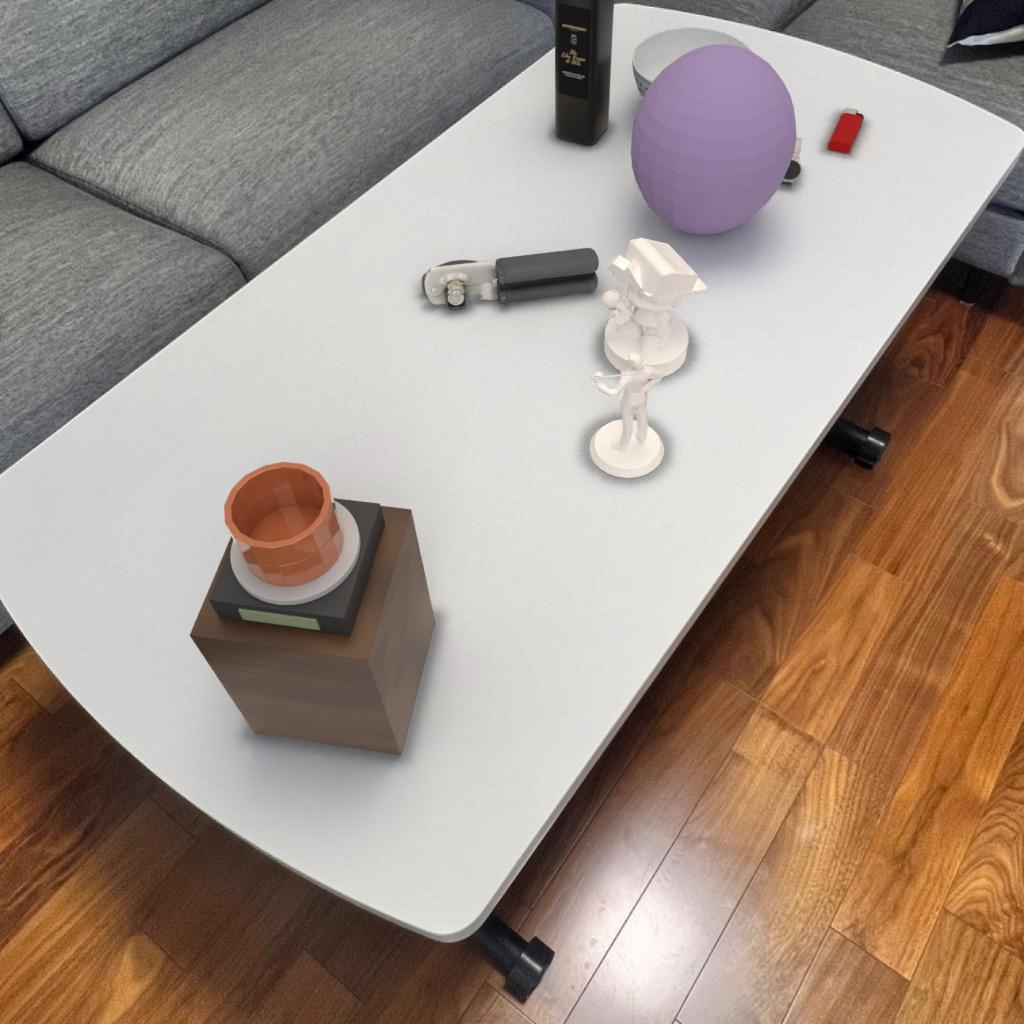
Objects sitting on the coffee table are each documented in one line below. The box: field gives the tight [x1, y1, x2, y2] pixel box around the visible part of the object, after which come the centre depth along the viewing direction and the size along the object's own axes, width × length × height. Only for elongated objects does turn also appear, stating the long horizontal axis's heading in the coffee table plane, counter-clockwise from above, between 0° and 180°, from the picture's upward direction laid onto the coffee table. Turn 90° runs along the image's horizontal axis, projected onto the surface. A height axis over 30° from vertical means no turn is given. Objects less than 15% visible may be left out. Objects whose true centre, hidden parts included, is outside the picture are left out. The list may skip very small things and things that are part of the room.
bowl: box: [223, 461, 344, 587], centre depth 59 cm, size 6×6×4 cm
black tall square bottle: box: [554, 0, 615, 146], centre depth 108 cm, size 6×6×30 cm
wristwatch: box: [782, 137, 804, 184], centre depth 111 cm, size 3×5×5 cm, turn 164°
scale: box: [209, 497, 385, 636], centre depth 62 cm, size 9×9×3 cm
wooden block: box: [189, 505, 436, 756], centre depth 70 cm, size 12×12×16 cm
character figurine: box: [600, 237, 708, 380], centre depth 92 cm, size 9×10×12 cm
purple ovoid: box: [630, 44, 798, 235], centre depth 100 cm, size 17×17×20 cm
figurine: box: [588, 352, 665, 479], centre depth 84 cm, size 7×7×12 cm
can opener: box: [421, 247, 600, 311], centre depth 101 cm, size 19×6×5 cm, turn 95°
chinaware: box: [631, 26, 753, 98], centre depth 118 cm, size 15×15×8 cm
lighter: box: [827, 107, 865, 154], centre depth 117 cm, size 3×1×8 cm
